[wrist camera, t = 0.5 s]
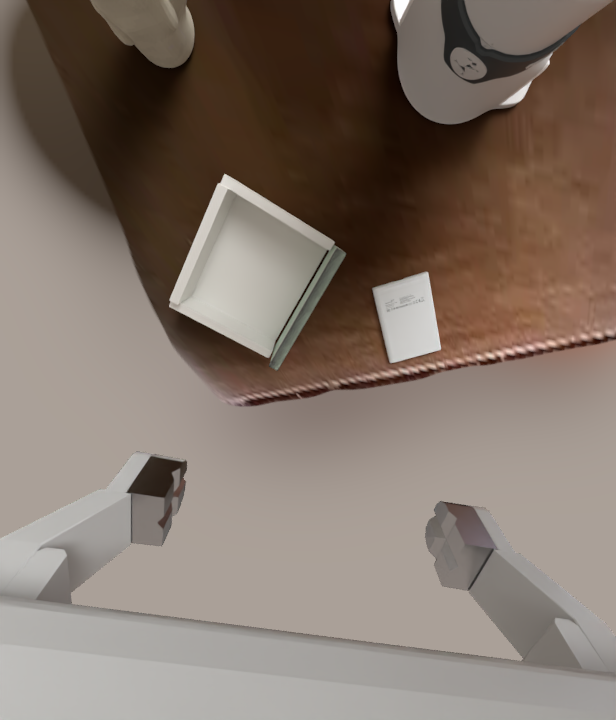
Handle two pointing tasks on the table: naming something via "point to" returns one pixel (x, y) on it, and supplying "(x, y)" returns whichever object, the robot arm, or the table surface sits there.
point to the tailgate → (307, 305)
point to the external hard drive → (407, 317)
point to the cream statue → (152, 27)
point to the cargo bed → (247, 267)
